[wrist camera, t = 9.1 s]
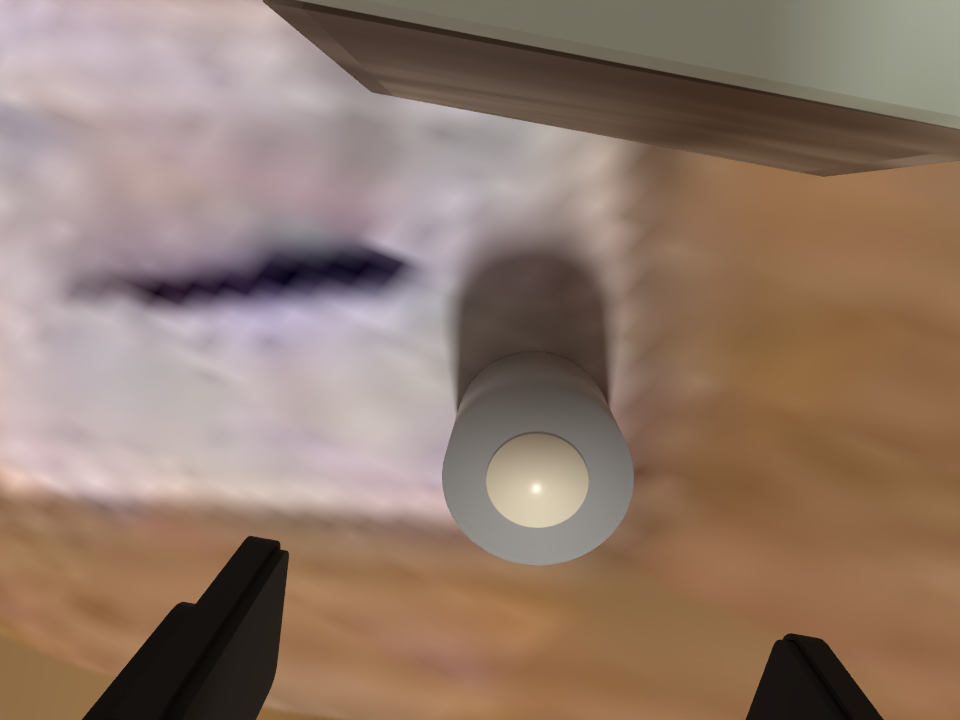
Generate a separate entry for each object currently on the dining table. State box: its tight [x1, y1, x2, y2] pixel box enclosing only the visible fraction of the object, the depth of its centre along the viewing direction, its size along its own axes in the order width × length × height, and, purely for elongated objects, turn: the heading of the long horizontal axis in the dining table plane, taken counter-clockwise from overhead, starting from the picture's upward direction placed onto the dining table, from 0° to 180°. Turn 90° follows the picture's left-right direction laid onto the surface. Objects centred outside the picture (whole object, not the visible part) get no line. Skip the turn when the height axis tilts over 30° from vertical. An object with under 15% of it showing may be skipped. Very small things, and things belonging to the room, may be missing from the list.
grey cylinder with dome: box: [442, 352, 634, 565], centre depth 21 cm, size 6×6×5 cm
